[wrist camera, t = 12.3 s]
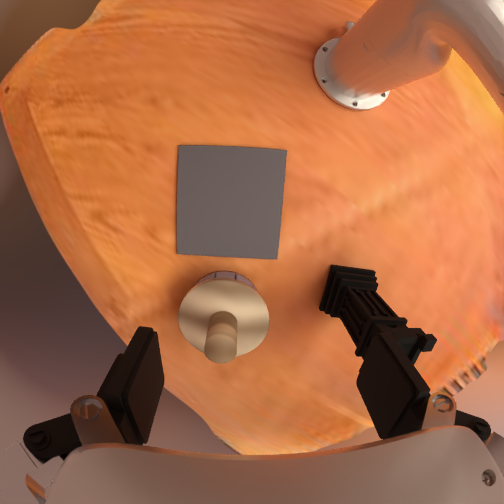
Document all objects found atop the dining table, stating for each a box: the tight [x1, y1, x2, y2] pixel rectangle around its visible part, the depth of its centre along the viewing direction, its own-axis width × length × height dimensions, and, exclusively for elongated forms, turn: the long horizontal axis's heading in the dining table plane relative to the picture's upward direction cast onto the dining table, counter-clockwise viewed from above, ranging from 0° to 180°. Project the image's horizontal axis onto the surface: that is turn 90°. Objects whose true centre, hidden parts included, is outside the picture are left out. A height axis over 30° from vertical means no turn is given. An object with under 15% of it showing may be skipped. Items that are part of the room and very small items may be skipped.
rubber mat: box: [177, 145, 287, 259], centre depth 38 cm, size 16×15×1 cm
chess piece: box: [319, 265, 437, 372], centre depth 34 cm, size 8×8×20 cm
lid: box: [178, 278, 269, 363], centre depth 35 cm, size 13×13×8 cm
